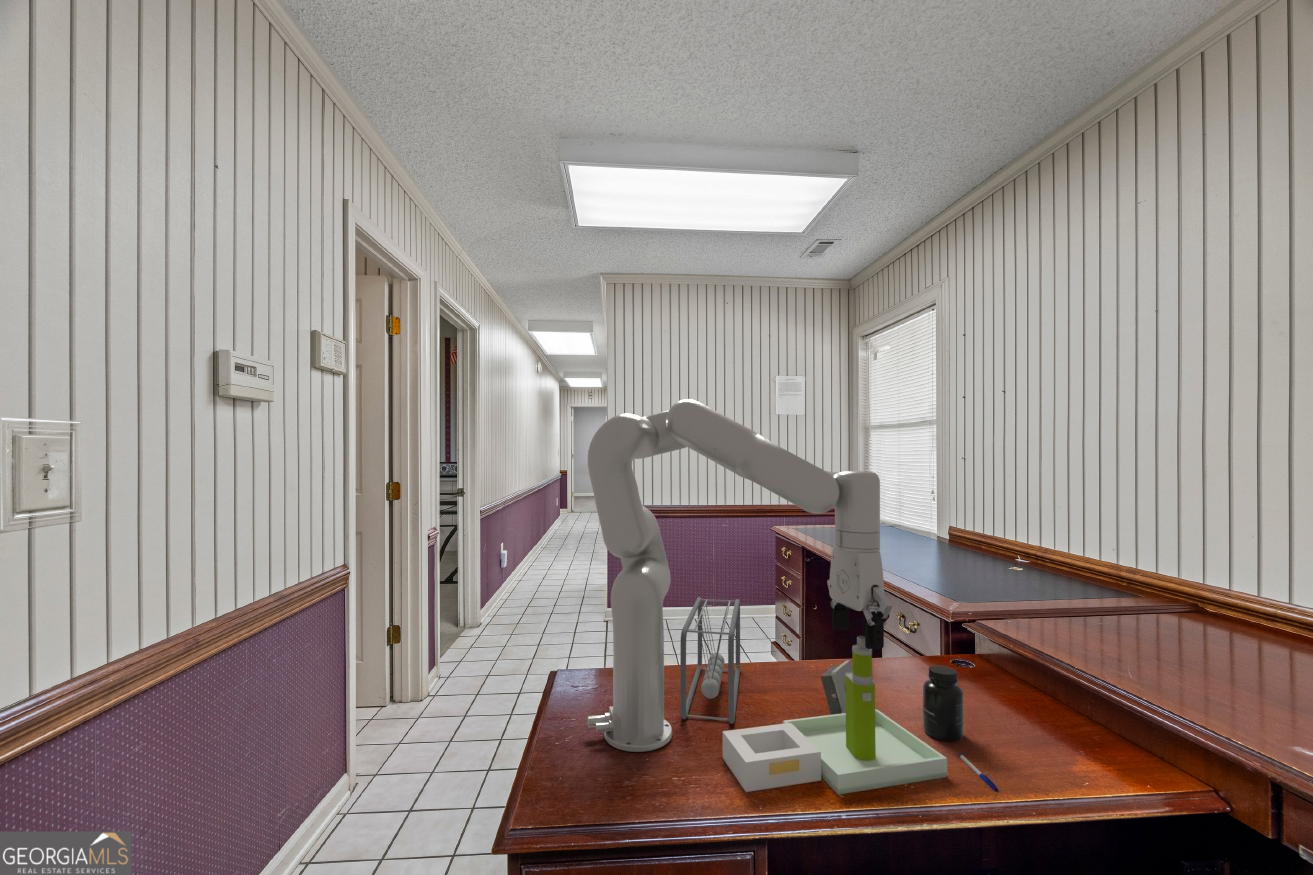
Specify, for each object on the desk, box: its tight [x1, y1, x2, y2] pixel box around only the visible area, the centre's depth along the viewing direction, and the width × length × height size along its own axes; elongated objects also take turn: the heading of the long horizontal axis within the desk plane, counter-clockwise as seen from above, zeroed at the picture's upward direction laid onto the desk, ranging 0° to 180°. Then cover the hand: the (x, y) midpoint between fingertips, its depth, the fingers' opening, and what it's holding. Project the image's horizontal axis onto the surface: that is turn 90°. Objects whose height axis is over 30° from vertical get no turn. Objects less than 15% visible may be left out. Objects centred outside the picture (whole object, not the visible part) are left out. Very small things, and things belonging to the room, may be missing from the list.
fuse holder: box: [722, 723, 822, 793], centre depth 91 cm, size 13×10×4 cm
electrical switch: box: [820, 659, 853, 715], centre depth 113 cm, size 9×5×9 cm, turn 141°
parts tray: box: [782, 708, 948, 796], centre depth 95 cm, size 20×18×3 cm
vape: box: [845, 635, 876, 761], centre depth 95 cm, size 4×6×20 cm, turn 3°
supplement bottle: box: [922, 664, 965, 743], centre depth 103 cm, size 7×7×12 cm
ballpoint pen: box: [957, 752, 999, 792], centre depth 90 cm, size 10×1×1 cm, turn 2°
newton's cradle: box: [679, 596, 741, 725], centre depth 121 cm, size 30×10×18 cm, turn 169°
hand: (856, 638), depth 96 cm, fingers open, 9 cm apart
